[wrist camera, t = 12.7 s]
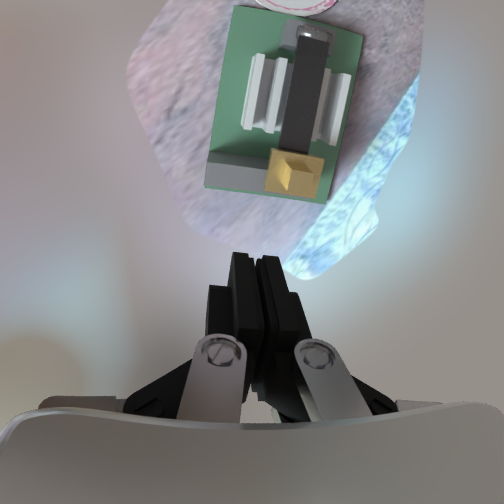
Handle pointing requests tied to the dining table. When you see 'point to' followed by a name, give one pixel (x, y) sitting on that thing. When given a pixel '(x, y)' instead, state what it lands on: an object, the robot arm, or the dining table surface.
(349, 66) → the board
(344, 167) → the dining table surface
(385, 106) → the dining table surface
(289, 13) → the teacup
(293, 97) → the strap
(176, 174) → the dining table surface
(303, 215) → the dining table surface
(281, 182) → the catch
